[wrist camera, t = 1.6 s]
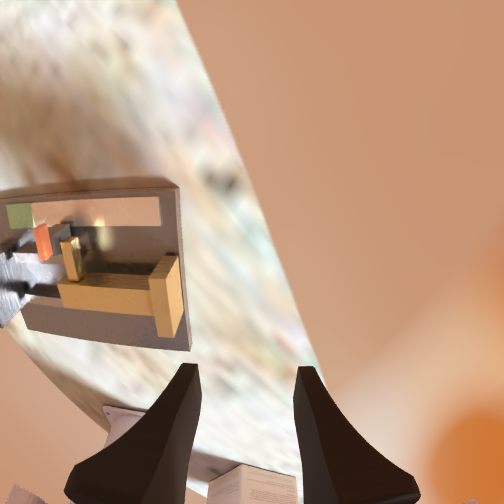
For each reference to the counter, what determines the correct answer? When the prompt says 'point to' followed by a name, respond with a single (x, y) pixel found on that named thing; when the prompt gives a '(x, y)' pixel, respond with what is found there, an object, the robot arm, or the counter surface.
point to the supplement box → (252, 487)
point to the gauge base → (90, 260)
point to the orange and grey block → (50, 239)
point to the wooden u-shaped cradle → (124, 290)
